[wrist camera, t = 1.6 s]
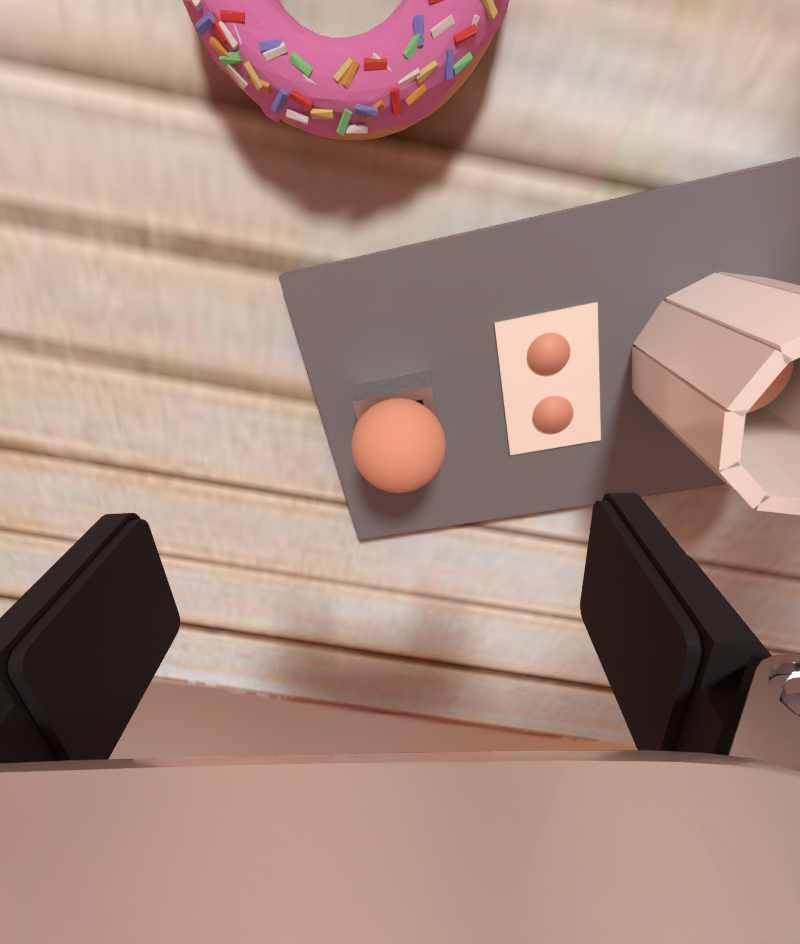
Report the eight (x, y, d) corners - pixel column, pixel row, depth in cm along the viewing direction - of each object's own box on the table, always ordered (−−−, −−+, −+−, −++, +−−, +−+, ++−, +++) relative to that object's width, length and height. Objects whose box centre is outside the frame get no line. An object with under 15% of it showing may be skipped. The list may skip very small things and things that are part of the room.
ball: (435, 377, 28) (438, 411, 23) (450, 457, 30) (455, 502, 26) (347, 394, 28) (333, 430, 24) (368, 471, 31) (359, 517, 26)
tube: (804, 254, 26) (996, 284, 18) (779, 412, 30) (925, 501, 22) (632, 289, 27) (732, 333, 19) (631, 437, 32) (713, 531, 23)
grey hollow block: (430, 370, 30) (431, 386, 27) (442, 436, 32) (444, 458, 29) (358, 384, 30) (352, 401, 28) (374, 448, 32) (371, 470, 30)
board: (818, 152, 25) (841, 149, 24) (770, 466, 33) (784, 478, 32) (283, 273, 29) (276, 277, 27) (360, 529, 37) (358, 542, 36)
